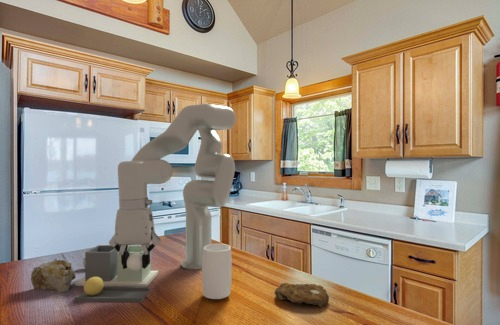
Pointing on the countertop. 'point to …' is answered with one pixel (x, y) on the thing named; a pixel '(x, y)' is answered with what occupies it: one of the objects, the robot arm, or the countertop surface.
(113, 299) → the mat
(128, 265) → the white ball
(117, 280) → the grey double box
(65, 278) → the rock
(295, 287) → the decorative rock
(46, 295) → the countertop surface
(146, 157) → the robot arm
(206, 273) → the cup
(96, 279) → the mustard ball
